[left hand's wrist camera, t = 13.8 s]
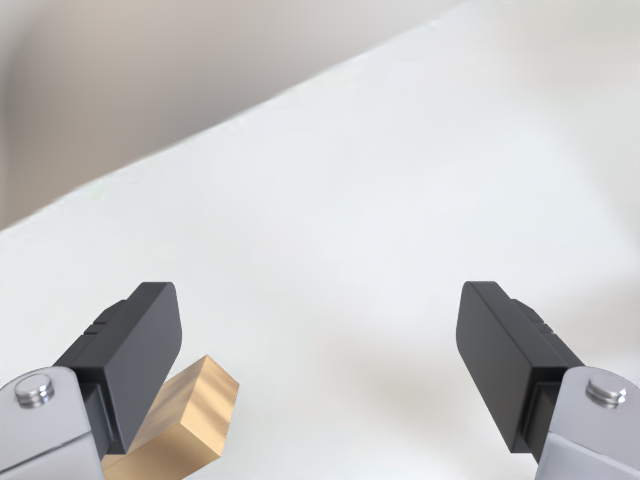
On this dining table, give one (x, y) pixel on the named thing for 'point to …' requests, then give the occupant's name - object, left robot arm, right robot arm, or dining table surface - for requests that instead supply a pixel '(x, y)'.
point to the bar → (180, 427)
